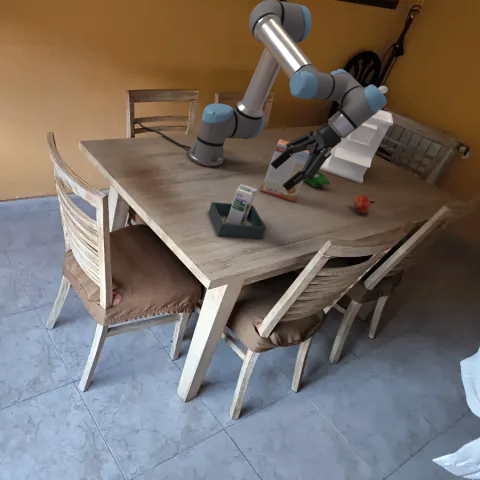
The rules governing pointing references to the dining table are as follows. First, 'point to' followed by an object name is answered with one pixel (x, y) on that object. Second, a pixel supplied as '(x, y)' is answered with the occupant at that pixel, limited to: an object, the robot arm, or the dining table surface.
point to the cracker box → (284, 173)
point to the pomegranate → (362, 204)
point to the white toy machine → (359, 147)
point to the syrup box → (241, 205)
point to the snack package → (317, 180)
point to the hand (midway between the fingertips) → (278, 177)
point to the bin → (235, 229)
